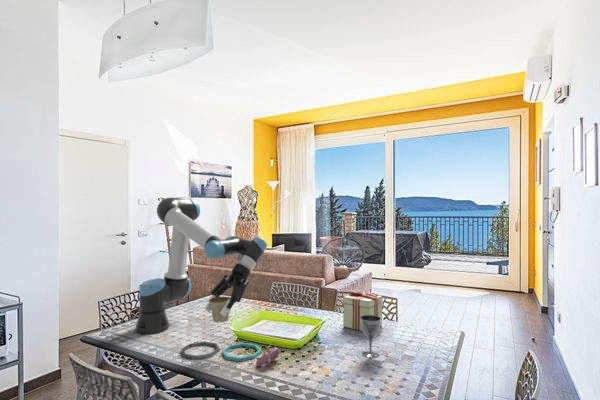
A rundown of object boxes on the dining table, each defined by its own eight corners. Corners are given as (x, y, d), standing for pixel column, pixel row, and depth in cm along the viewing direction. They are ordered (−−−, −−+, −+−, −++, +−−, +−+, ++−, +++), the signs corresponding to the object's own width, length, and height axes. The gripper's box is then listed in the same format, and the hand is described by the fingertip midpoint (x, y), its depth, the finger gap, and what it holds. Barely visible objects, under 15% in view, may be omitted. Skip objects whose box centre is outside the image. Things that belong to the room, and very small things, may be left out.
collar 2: (219, 349, 156) (219, 346, 156) (253, 343, 162) (253, 341, 162) (228, 363, 143) (228, 360, 143) (264, 356, 149) (264, 353, 149)
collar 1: (179, 348, 158) (179, 345, 158) (214, 342, 164) (214, 339, 164) (184, 361, 144) (184, 358, 144) (222, 354, 151) (222, 351, 151)
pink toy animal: (262, 372, 139) (269, 357, 137) (254, 364, 141) (260, 349, 139) (277, 362, 147) (284, 348, 146) (269, 355, 149) (275, 341, 148)
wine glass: (368, 360, 146) (368, 322, 146) (356, 352, 153) (356, 316, 153) (384, 356, 150) (384, 319, 150) (372, 349, 157) (372, 313, 157)
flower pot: (226, 324, 147) (226, 303, 147) (204, 323, 149) (204, 302, 149) (235, 317, 156) (235, 297, 156) (215, 316, 158) (214, 296, 158)
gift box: (385, 323, 190) (385, 289, 190) (371, 334, 175) (371, 297, 175) (354, 317, 199) (354, 285, 199) (339, 327, 184) (339, 292, 184)
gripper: (265, 276, 157) (237, 323, 145) (232, 270, 172) (203, 312, 159) (256, 265, 153) (226, 312, 141) (222, 260, 168) (192, 303, 155)
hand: (214, 312), depth 150 cm, fingers closed on flower pot, 9 cm apart
